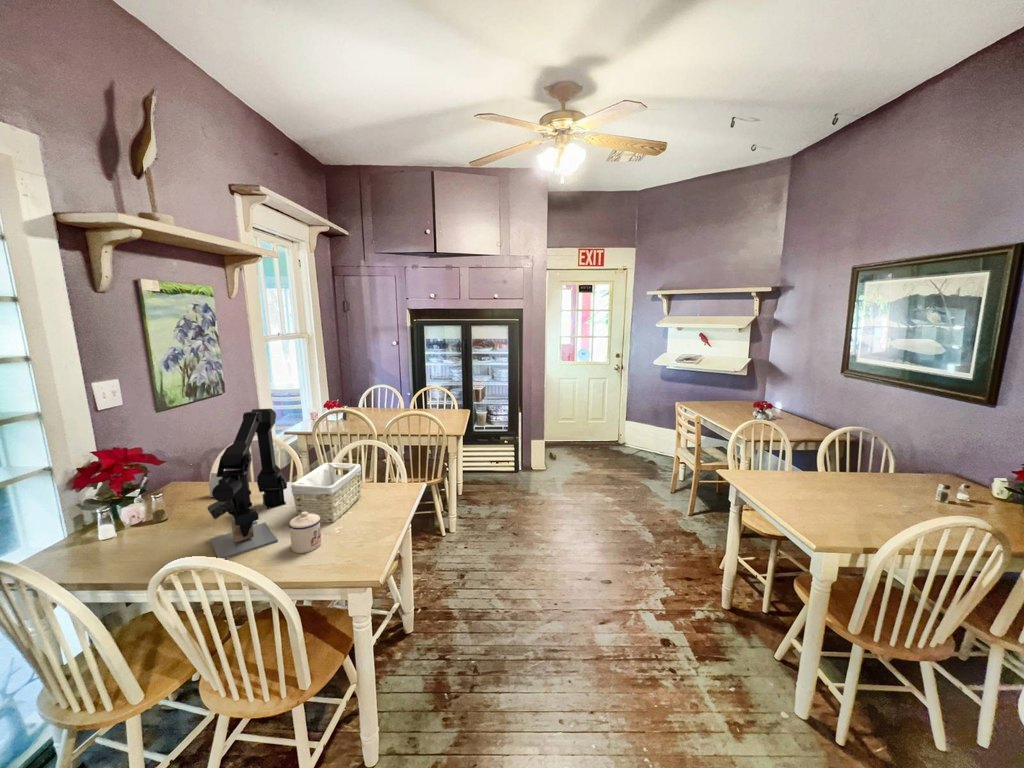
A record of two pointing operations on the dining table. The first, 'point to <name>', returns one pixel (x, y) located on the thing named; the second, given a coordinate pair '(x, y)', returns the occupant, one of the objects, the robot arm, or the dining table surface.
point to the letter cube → (238, 534)
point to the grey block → (213, 482)
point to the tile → (243, 542)
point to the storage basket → (327, 491)
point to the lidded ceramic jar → (305, 532)
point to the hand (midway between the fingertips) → (243, 533)
